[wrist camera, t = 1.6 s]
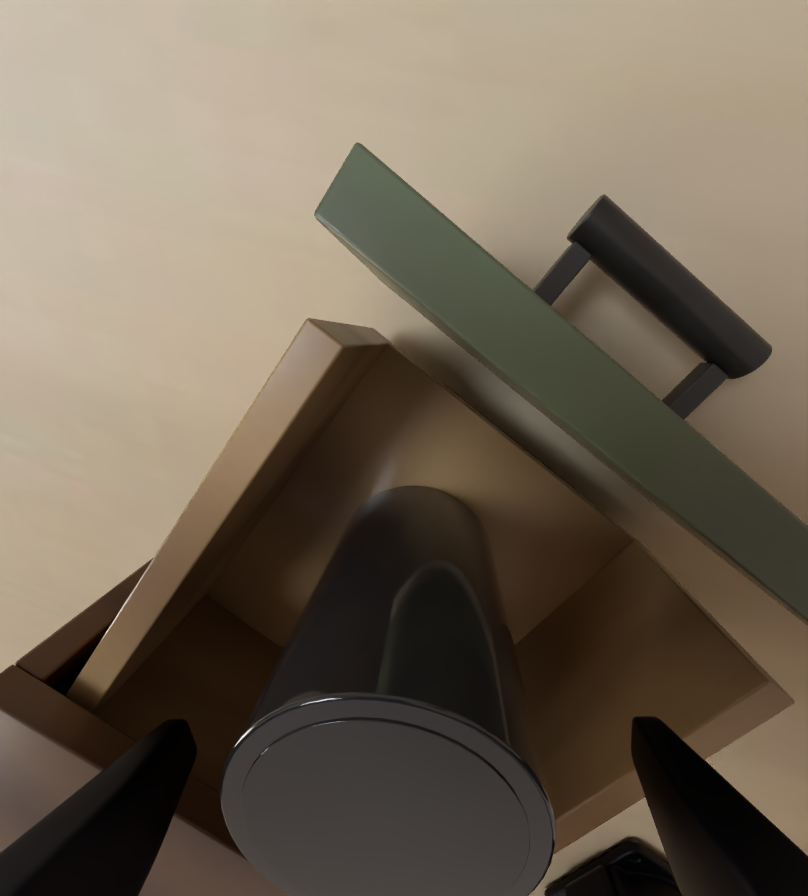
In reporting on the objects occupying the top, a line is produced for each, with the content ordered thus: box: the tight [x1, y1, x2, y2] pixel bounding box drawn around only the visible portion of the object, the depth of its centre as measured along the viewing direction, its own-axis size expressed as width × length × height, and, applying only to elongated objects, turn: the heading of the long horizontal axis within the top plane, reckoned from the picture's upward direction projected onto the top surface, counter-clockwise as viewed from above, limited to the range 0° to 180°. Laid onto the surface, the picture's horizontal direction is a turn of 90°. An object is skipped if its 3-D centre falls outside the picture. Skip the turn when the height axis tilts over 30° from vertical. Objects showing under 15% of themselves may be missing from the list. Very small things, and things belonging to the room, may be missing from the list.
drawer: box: [65, 143, 808, 854], centre depth 11 cm, size 19×13×7 cm
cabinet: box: [0, 558, 289, 896], centre depth 15 cm, size 17×15×9 cm
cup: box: [220, 486, 556, 896], centre depth 10 cm, size 5×5×8 cm
